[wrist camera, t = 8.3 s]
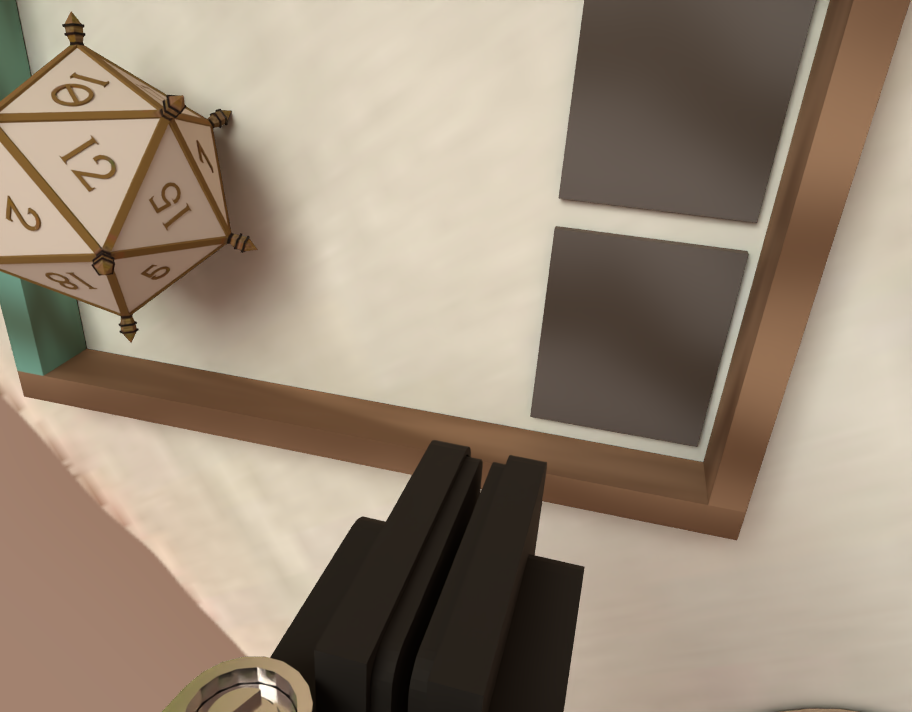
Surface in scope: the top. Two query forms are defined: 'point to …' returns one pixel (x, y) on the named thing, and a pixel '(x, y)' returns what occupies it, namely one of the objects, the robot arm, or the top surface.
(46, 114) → the game die
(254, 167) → the top surface
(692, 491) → the shallow open wooden box
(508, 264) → the top surface
